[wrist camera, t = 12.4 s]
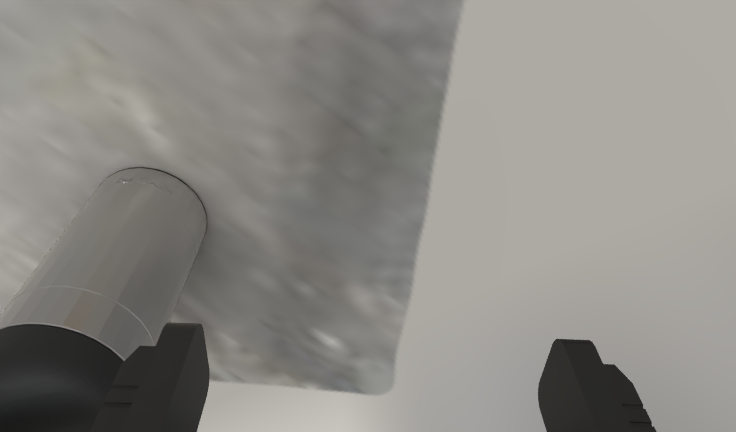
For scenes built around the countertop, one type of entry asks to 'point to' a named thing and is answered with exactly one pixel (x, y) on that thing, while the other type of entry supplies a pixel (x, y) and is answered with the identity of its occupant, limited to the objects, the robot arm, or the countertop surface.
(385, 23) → the countertop surface
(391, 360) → the countertop surface
